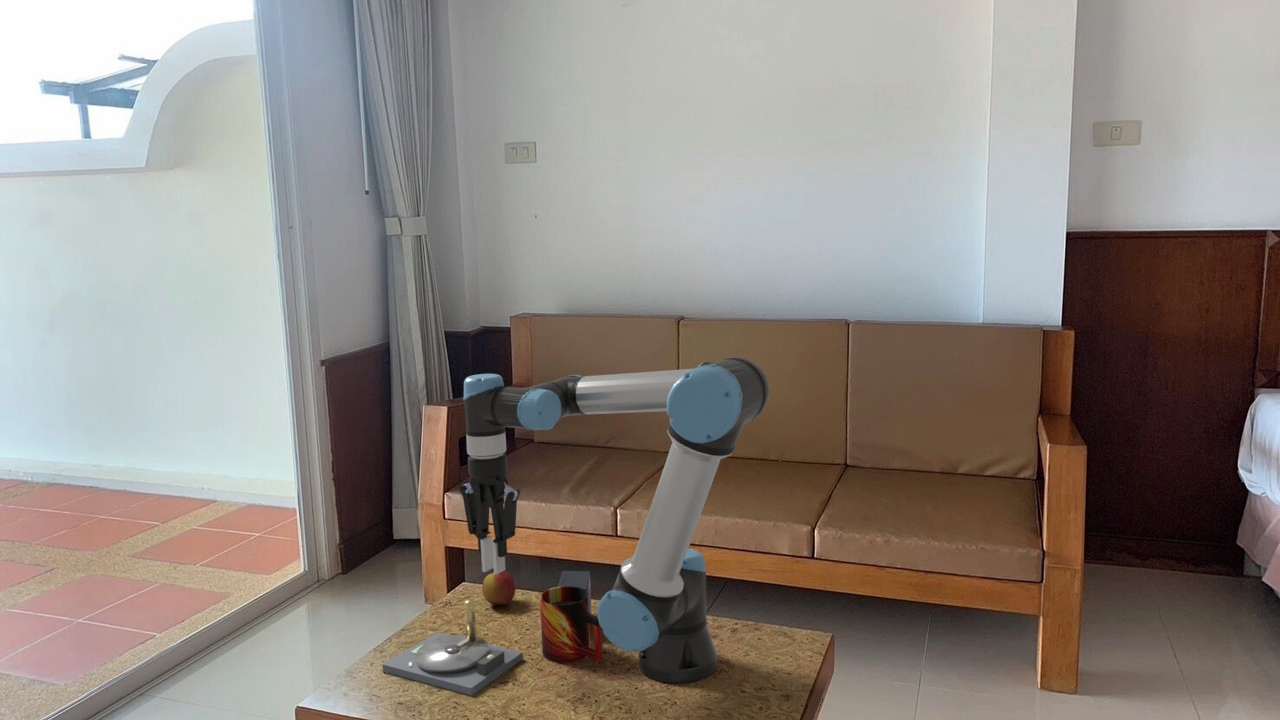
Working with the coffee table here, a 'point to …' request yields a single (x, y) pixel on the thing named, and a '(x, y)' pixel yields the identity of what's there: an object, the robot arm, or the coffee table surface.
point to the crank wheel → (454, 648)
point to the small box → (577, 582)
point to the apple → (499, 588)
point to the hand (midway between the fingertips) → (493, 570)
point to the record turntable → (455, 681)
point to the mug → (568, 625)
